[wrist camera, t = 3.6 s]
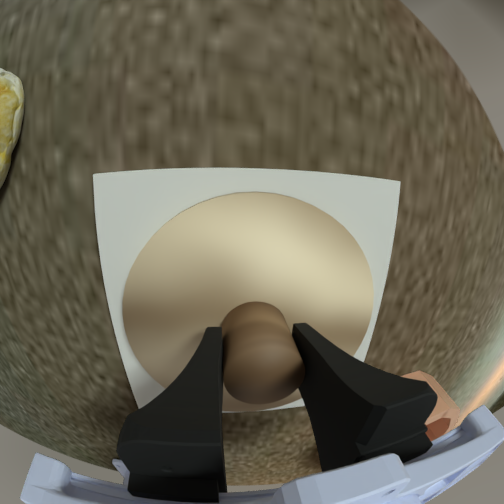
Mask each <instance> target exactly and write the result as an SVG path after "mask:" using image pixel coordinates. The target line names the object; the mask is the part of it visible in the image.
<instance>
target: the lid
mask: <svg viewBox="0 0 504 504" xmlns="http://www.w3.org/2000/svg"><path fill="white" fill-rule="evenodd" d="M373 300H374V290H373V280H372V275H371V271H370V267H369V264H368V262H367V260H366V257H365V255H364V253H363V251H362V249H361V248H360V246H359V244H358V243H357V241H356V240H355V238H354V237H353V236H352V235H351V234H350V233H349V231H348V230H347V229H346V228H345V227H344V226H343V225H342V224H340V223H339V222H338V221H337V220H336V219H334V218H333V217H332V216H330V215H329V214H327V213H325V212H324V211H322V210H320V209H319V208H317V207H315V206H313V205H311V204H309V203H306V202H304V201H301V200H299V199H296V198H294V197H290V196H285V195H281V194H277V193H268V192H257V191H255V192H236V193H231V194H226V195H221V196H217V197H214V198H211V199H208V200H205V201H202V202H199V203H197V204H195V205H193V206H191V207H189V208H187V209H185V210H183V211H182V212H180V213H179V214H177V215H176V216H174V217H173V218H172V219H170V220H169V221H168V222H166V223H165V224H164V225H163V226H162V227H161V228H160V229H159V230H158V231H157V232H156V233H155V234H154V235H153V236H152V237H151V238H150V240H149V241H148V242H147V243H146V245H145V246H144V247H143V249H142V250H141V251H140V253H139V254H138V256H137V258H136V260H135V262H134V263H133V265H132V267H131V269H130V272H129V275H128V278H127V281H126V284H125V288H124V294H123V300H122V316H123V323H124V329H125V333H126V336H127V339H128V342H129V344H130V347H131V349H132V351H133V353H134V355H135V356H136V358H137V359H138V361H139V362H140V364H141V365H142V367H143V368H144V369H145V370H146V371H147V373H148V374H149V375H150V376H151V377H152V378H153V379H154V380H155V381H157V382H158V383H159V384H160V385H161V386H162V387H164V388H165V389H166V388H167V387H168V386H169V385H170V384H171V383H172V382H173V381H174V380H175V379H176V378H177V377H178V375H179V374H180V373H181V372H182V371H183V369H184V368H185V367H186V365H187V364H188V362H189V361H190V359H191V358H192V356H193V355H194V353H195V351H196V349H197V348H198V346H199V344H200V342H201V340H202V338H203V335H204V333H205V329H206V328H207V327H222V347H223V378H224V385H223V404H222V411H232V412H251V411H260V410H267V409H271V408H276V407H280V406H283V405H286V404H289V403H292V402H294V401H297V400H299V399H301V398H302V397H301V394H300V392H299V389H298V387H299V386H300V385H301V383H302V382H303V380H304V377H305V365H304V363H303V360H302V358H301V356H300V353H299V351H298V348H297V346H296V344H295V341H294V339H293V337H292V329H293V323H307V324H308V325H310V326H311V327H312V328H314V329H315V330H316V331H317V332H319V333H320V334H321V335H322V336H324V337H325V338H326V339H328V340H329V341H330V342H332V343H333V344H334V345H336V346H337V347H339V348H340V349H342V350H343V351H345V352H346V353H348V354H349V355H351V356H354V355H355V353H356V351H357V350H358V348H359V347H360V345H361V343H362V341H363V339H364V337H365V334H366V332H367V329H368V326H369V323H370V320H371V315H372V310H373Z"/></svg>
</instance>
